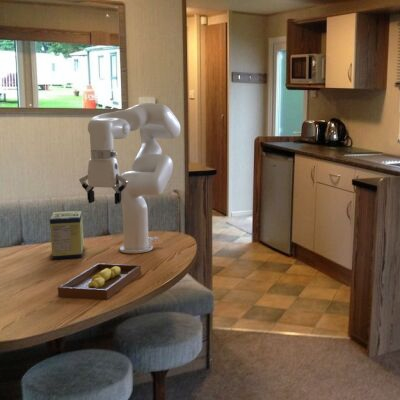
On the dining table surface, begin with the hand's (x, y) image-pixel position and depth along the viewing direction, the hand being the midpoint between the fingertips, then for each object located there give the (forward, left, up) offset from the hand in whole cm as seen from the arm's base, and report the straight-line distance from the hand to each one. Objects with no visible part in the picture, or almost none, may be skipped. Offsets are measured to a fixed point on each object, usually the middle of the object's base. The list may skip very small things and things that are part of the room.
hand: (104, 202), depth 199 cm
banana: (+13, +16, -22) cm, 30 cm away
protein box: (0, -25, -24) cm, 34 cm away
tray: (+13, +16, -23) cm, 31 cm away
